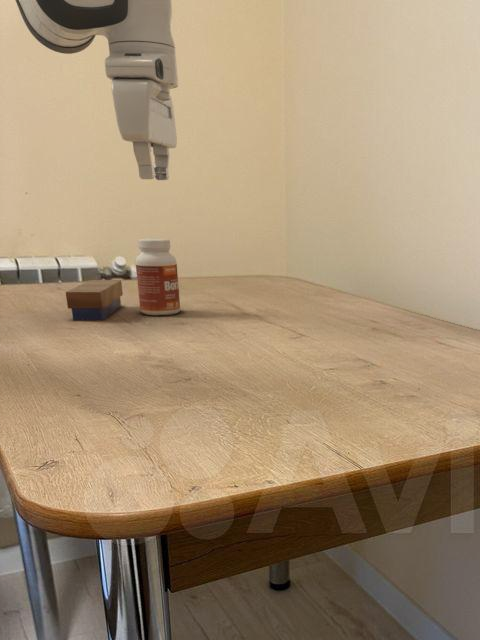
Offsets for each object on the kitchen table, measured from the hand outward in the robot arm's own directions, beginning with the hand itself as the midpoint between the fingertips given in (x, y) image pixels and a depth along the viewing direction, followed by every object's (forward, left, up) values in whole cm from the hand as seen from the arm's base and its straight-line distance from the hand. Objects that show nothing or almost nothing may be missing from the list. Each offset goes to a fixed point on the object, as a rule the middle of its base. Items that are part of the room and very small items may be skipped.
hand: (155, 179), depth 103 cm
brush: (-11, +1, -20) cm, 22 cm away
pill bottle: (-1, +1, -20) cm, 20 cm away
